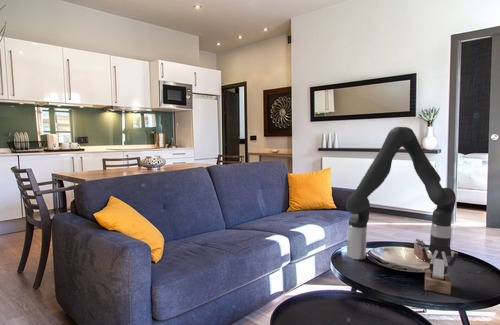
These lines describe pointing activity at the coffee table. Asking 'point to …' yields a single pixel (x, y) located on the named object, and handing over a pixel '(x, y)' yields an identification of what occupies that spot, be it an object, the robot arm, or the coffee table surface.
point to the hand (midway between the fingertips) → (438, 272)
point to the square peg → (438, 268)
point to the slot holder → (437, 283)
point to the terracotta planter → (419, 249)
